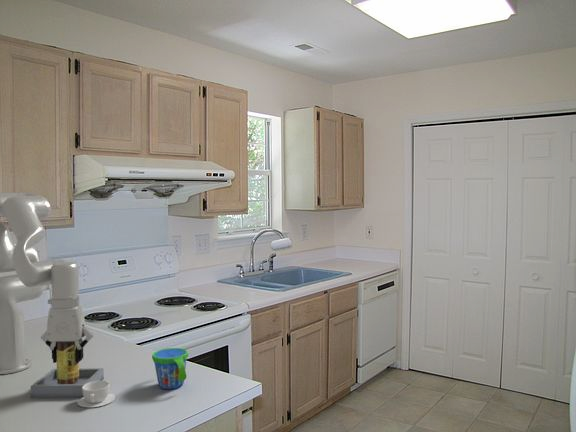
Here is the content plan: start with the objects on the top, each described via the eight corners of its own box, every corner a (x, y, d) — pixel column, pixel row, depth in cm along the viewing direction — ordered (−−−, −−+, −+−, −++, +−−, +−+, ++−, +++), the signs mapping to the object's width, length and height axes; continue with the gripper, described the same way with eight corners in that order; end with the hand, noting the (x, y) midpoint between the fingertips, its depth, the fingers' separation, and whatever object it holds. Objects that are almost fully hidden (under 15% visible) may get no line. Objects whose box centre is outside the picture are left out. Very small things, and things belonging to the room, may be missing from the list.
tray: (31, 397, 145) (30, 386, 145) (53, 379, 159) (53, 368, 159) (86, 397, 145) (85, 385, 145) (103, 378, 159) (103, 368, 159)
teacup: (83, 395, 147) (82, 379, 147) (118, 393, 148) (117, 378, 148) (73, 410, 137) (72, 393, 137) (110, 408, 138) (109, 391, 138)
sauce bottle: (71, 386, 148) (68, 321, 147) (52, 385, 150) (49, 320, 149) (84, 378, 155) (82, 315, 154) (66, 377, 156) (64, 314, 155)
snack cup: (146, 381, 157) (145, 349, 156) (178, 374, 163) (177, 343, 162) (163, 398, 144) (162, 363, 143) (197, 389, 150) (196, 356, 149)
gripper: (30, 306, 147) (33, 365, 148) (89, 305, 147) (91, 365, 148) (43, 300, 155) (45, 357, 156) (99, 299, 155) (100, 356, 156)
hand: (67, 360), depth 152 cm, fingers closed on sauce bottle, 6 cm apart
